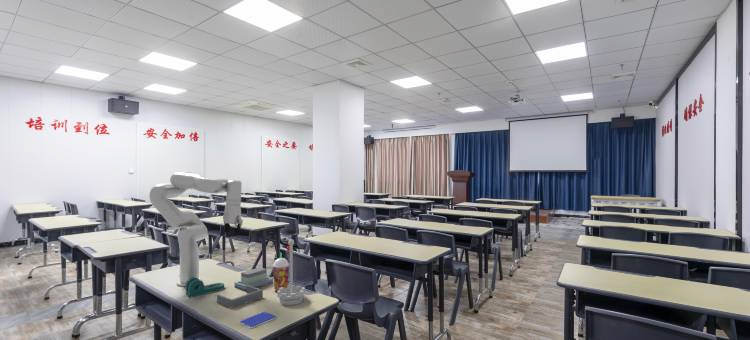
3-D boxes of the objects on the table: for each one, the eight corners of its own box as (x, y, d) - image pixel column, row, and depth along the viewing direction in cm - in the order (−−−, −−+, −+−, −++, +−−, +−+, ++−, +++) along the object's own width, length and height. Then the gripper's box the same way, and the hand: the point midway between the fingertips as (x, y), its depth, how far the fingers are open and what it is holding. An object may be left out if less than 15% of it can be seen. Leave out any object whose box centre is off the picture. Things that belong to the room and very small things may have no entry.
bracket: (189, 297, 175) (189, 282, 175) (185, 294, 180) (185, 279, 180) (226, 289, 188) (226, 274, 188) (221, 286, 193) (221, 271, 193)
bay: (216, 301, 169) (216, 294, 169) (247, 291, 183) (247, 285, 183) (231, 308, 162) (231, 300, 162) (262, 297, 176) (262, 290, 176)
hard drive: (264, 311, 156) (239, 320, 146) (276, 315, 151) (251, 326, 141) (264, 314, 156) (239, 324, 146) (276, 319, 151) (251, 330, 141)
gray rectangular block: (241, 285, 191) (241, 272, 191) (259, 279, 200) (259, 267, 200) (247, 287, 187) (247, 274, 187) (266, 281, 197) (266, 269, 197)
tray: (234, 287, 190) (234, 282, 190) (261, 279, 204) (261, 274, 204) (246, 291, 184) (246, 286, 184) (273, 282, 197) (273, 278, 197)
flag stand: (310, 300, 171) (310, 239, 171) (286, 308, 162) (286, 243, 162) (295, 293, 181) (295, 235, 180) (272, 300, 172) (272, 239, 171)
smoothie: (271, 289, 187) (271, 251, 187) (287, 287, 191) (287, 250, 190) (273, 294, 180) (273, 255, 179) (290, 292, 183) (290, 253, 183)
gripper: (218, 201, 196) (217, 231, 196) (236, 204, 186) (234, 237, 186) (230, 200, 202) (229, 230, 202) (248, 203, 192) (247, 235, 192)
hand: (232, 233), depth 194 cm, fingers open, 9 cm apart
